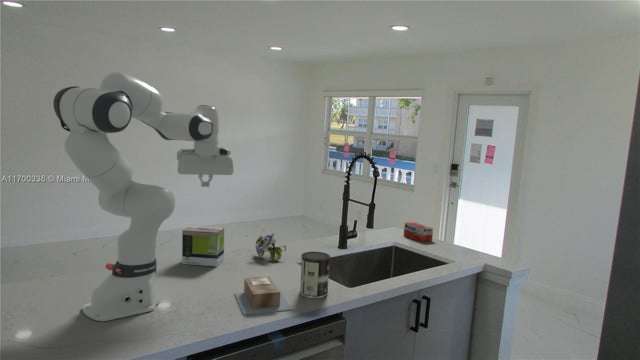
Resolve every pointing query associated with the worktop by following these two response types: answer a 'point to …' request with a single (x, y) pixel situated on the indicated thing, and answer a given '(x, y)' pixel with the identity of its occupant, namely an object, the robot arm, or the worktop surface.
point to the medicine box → (418, 231)
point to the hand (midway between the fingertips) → (205, 186)
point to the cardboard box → (261, 292)
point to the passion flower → (268, 247)
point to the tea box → (203, 245)
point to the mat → (248, 309)
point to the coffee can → (314, 274)
